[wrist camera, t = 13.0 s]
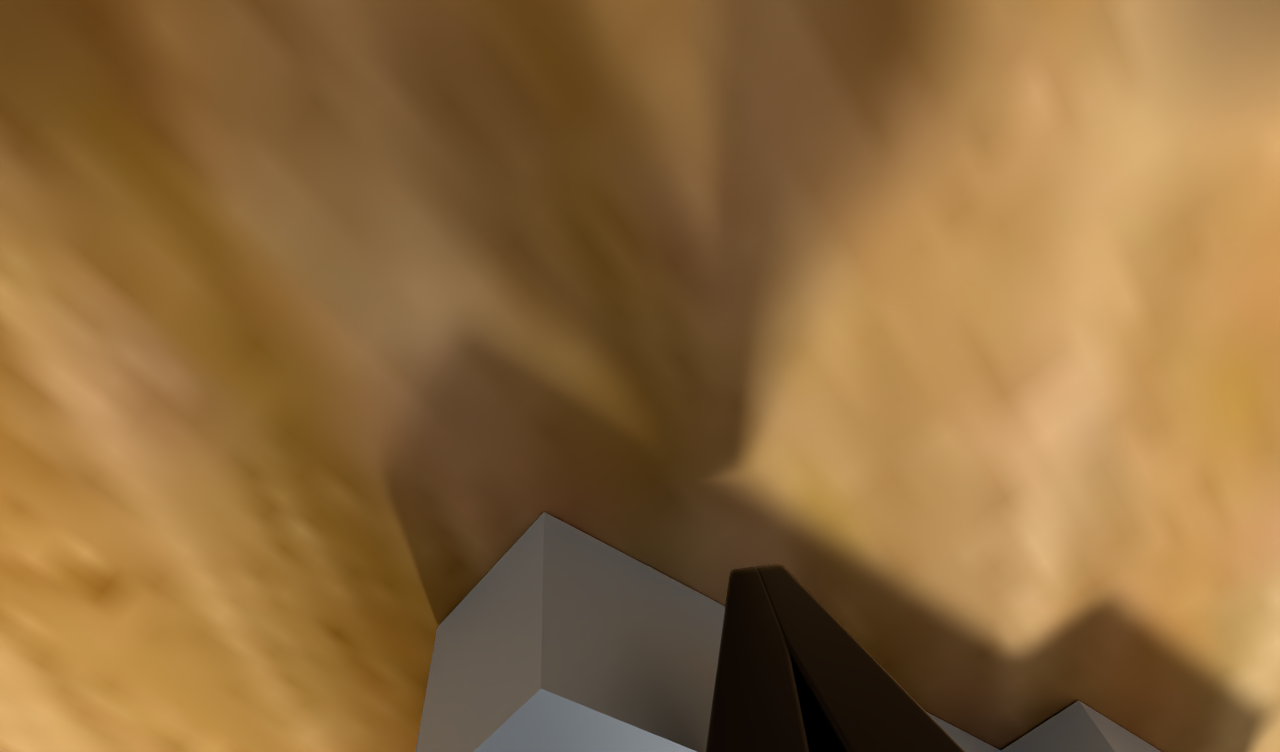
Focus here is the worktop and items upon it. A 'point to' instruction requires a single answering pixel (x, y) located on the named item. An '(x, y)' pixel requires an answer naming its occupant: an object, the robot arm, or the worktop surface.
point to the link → (614, 661)
